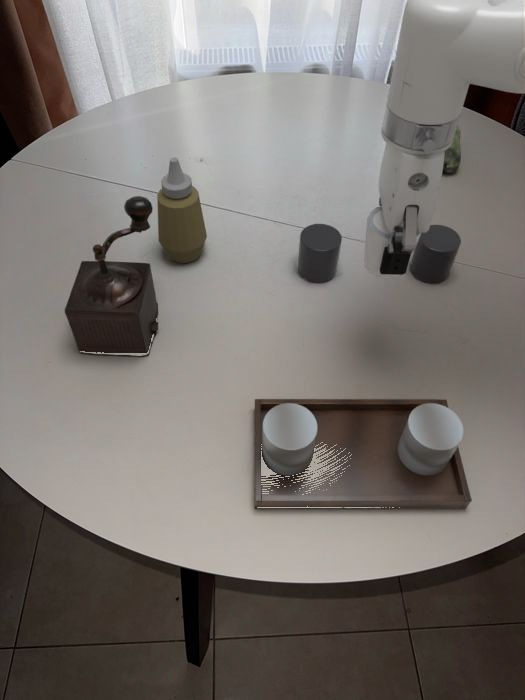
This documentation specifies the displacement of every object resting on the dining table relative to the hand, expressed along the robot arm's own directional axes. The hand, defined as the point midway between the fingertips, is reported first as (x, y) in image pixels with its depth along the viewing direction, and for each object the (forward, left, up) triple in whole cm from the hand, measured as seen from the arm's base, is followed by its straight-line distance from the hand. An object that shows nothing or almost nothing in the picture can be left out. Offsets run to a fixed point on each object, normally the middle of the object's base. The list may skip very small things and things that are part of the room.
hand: (388, 251), depth 74 cm
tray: (+4, +20, -18) cm, 27 cm away
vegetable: (-22, -48, -18) cm, 56 cm away
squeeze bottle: (+29, -19, -18) cm, 39 cm away
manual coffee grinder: (+37, -4, -18) cm, 41 cm away
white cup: (0, 0, -2) cm, 2 cm away
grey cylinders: (-3, -15, -18) cm, 23 cm away
